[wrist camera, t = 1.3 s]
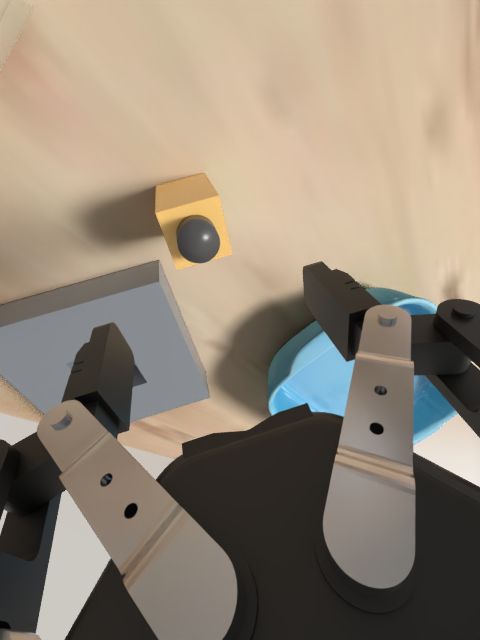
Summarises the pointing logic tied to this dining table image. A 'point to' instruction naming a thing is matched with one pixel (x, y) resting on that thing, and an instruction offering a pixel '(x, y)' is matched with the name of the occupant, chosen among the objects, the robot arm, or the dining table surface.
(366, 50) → the dining table surface
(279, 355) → the casserole dish
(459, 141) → the dining table surface
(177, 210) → the plug
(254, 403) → the dining table surface
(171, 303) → the socket
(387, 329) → the robot arm
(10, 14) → the electrical outlet
